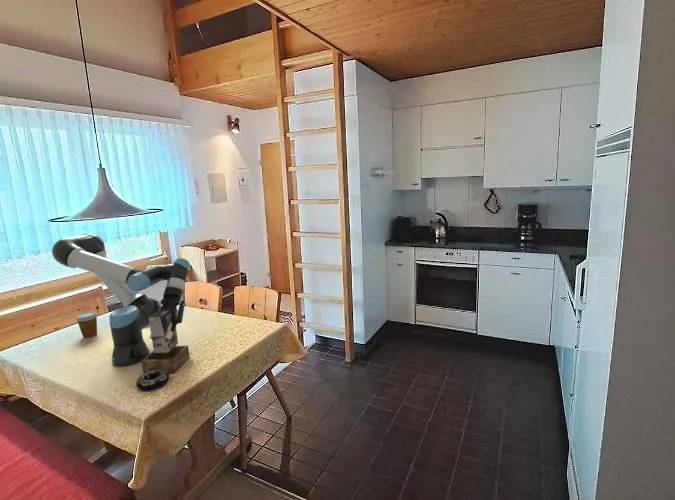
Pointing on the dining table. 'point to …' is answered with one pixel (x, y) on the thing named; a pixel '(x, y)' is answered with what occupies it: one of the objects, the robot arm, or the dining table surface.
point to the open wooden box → (166, 360)
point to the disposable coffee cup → (88, 324)
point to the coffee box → (162, 331)
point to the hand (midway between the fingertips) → (160, 338)
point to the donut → (152, 380)
